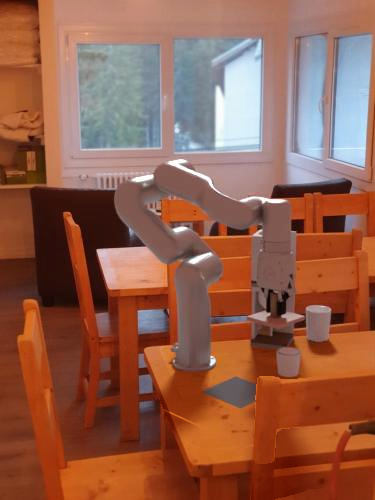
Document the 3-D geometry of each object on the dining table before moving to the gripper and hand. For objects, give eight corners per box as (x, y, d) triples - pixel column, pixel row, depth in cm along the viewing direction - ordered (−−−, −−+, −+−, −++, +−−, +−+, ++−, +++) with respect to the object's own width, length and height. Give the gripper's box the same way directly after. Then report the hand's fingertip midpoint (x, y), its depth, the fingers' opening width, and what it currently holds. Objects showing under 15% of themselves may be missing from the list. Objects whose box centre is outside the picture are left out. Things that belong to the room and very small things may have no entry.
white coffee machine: (250, 345, 219) (251, 235, 211) (258, 334, 229) (260, 229, 221) (286, 350, 215) (289, 238, 207) (293, 338, 225) (296, 231, 217)
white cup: (304, 342, 222) (305, 312, 219) (305, 333, 229) (305, 304, 227) (330, 343, 220) (331, 313, 218) (329, 335, 228) (330, 305, 226)
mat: (200, 393, 186) (200, 391, 186) (235, 377, 195) (235, 376, 195) (240, 409, 176) (240, 408, 176) (275, 392, 186) (275, 391, 185)
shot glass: (299, 380, 193) (300, 356, 192) (274, 378, 195) (275, 354, 193) (300, 370, 200) (301, 347, 198) (276, 368, 201) (277, 345, 200)
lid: (246, 319, 190) (246, 293, 188) (273, 311, 197) (273, 285, 195) (278, 329, 182) (278, 301, 180) (304, 319, 189) (305, 292, 187)
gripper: (244, 244, 189) (244, 309, 193) (291, 253, 177) (290, 323, 181) (262, 240, 193) (262, 304, 198) (310, 248, 182) (309, 316, 186)
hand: (276, 312), depth 189 cm, fingers closed on lid, 3 cm apart
